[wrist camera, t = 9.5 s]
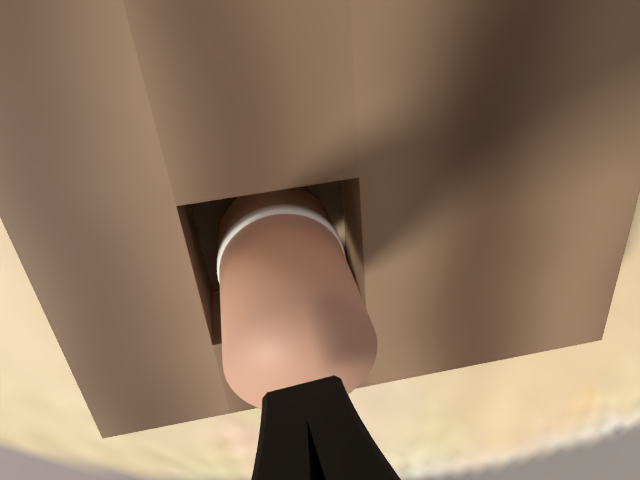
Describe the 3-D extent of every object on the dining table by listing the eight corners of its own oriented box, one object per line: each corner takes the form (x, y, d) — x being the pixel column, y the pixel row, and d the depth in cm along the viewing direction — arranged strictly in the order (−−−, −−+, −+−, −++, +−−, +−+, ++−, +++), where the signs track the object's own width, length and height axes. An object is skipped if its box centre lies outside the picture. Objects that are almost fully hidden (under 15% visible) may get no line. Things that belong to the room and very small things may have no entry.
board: (632, -87, 13) (710, -87, 11) (560, 294, 20) (601, 339, 18) (-44, -12, 12) (-98, 6, 10) (115, 377, 18) (102, 438, 16)
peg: (312, 154, 15) (365, 272, 10) (335, 248, 17) (390, 388, 12) (200, 185, 15) (196, 321, 10) (234, 276, 17) (246, 431, 12)
